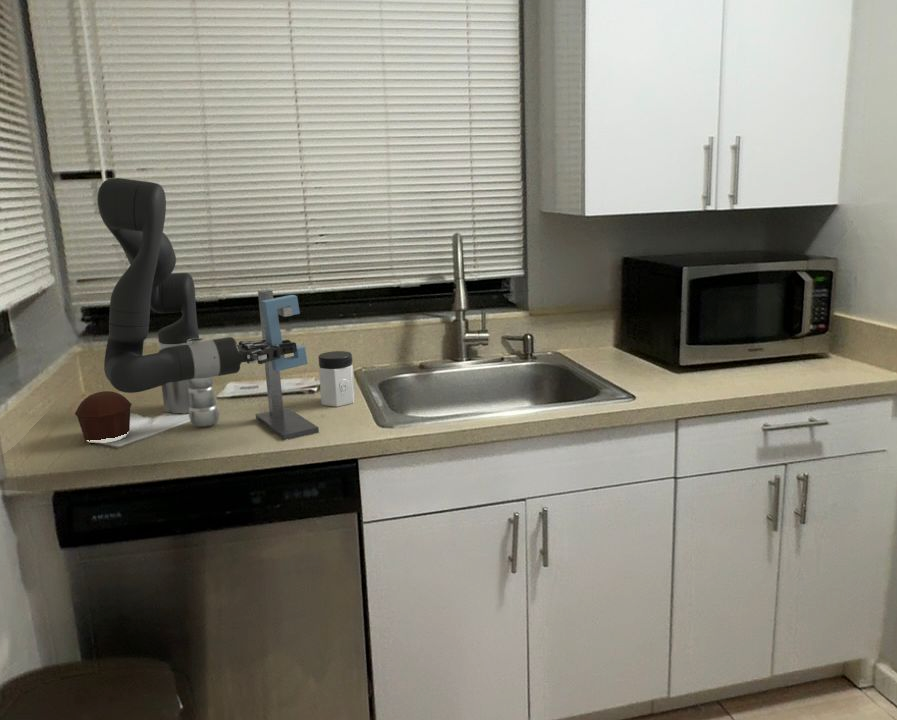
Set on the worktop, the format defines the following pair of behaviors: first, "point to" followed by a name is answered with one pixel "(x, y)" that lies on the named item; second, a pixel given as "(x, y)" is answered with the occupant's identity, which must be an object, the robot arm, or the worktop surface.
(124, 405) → the muffin
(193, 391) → the plastic bottle
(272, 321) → the c link
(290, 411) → the stand
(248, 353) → the robot arm
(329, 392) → the jar
